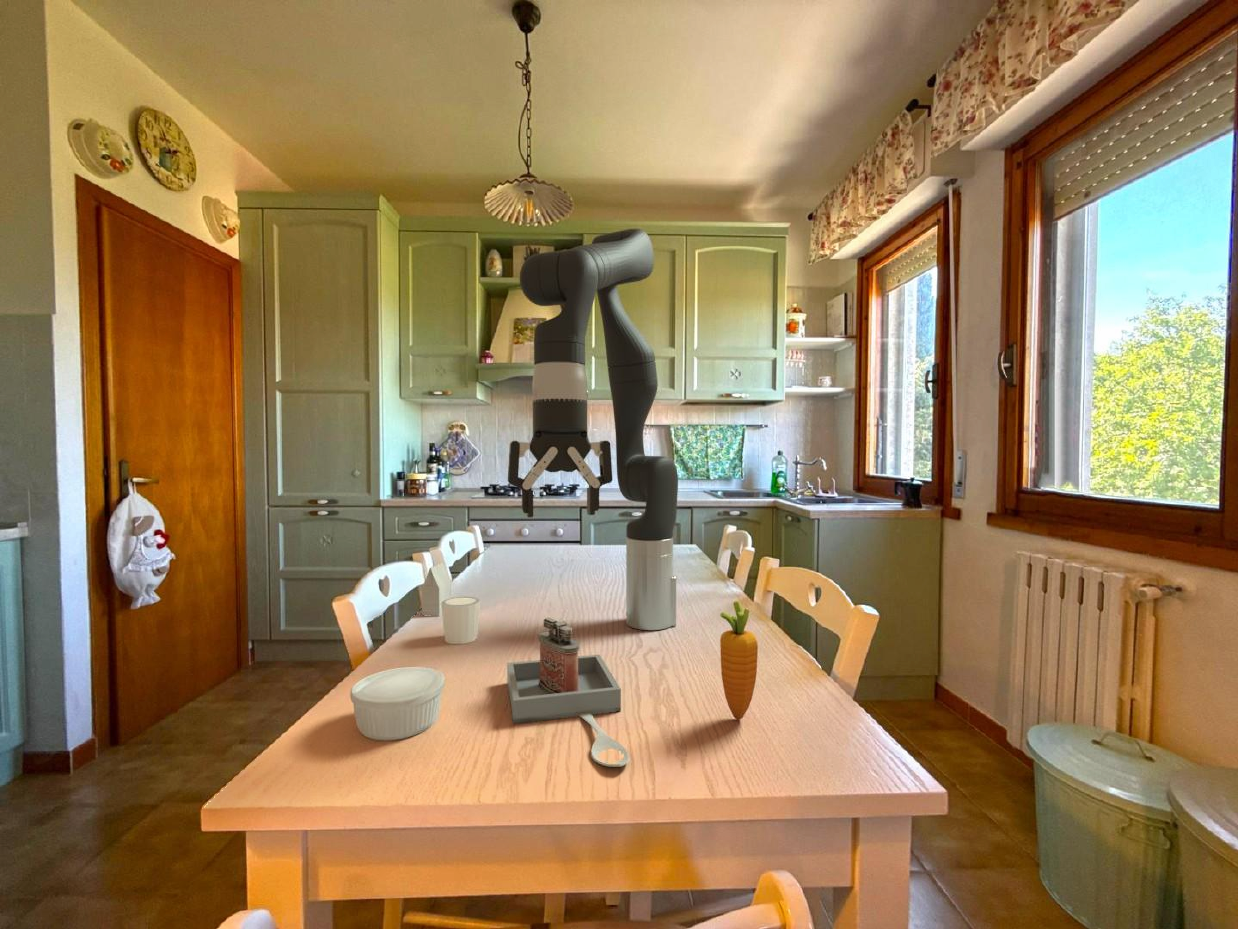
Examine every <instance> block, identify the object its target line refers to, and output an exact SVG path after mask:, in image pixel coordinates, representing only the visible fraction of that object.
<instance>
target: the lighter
mask: <svg viewBox="0 0 1238 929" xmlns="http://www.w3.org/2000/svg"><path fill="white" fill-rule="evenodd" d="M543 628H545V629H546V630H548V631H545V632H541V633H539V634H538V641H539V660H540V679H539V688H540V689H541V690H542V691H543V692H544V693H546V694H555V693H564V692H574V691H578V656H579V652H580V643H578V642H577V641H576V640H575V639H573V638H572V637H573V628H572V627H570V626H568V623H567V621H564V620H562V621H558V620H557V619H554V618H552V617H549V616H548V617H545V618H544V619H543Z"/></svg>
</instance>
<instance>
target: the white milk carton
mask: <svg viewBox="0 0 1238 929" xmlns="http://www.w3.org/2000/svg"><path fill="white" fill-rule="evenodd" d="M446 568H447V567H446V566H445V562H444V561H441V562H438V563H437V564H435V565H434V566H431V567H429V568H428V573H427V575H426V578H425V580H424V582H423V585H422V587H421V616H422V615H431V616H430V617H441V616H442V615H441V614H442V606H441V603H442V601H444V600H446V599H450V598H453V596H452V595H453V593H452V592H453V591H452V590H453V589H452V588H453V587H452V586H453V584H452V581H453V580H452V579H451V577H450V575H449V572H448V571H447V569H446ZM440 615H441V616H440Z"/></svg>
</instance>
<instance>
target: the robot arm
mask: <svg viewBox="0 0 1238 929" xmlns="http://www.w3.org/2000/svg"><path fill="white" fill-rule="evenodd" d="M654 265H655V253H654V248H653V243H652V241H651V238H650V237H649V235H648V234H647V232H646V231H644V229H641V228H628V229H627V228H626V229H624V230H619V231H614V232H609V233H605V234H601V235H598V236H595V237H594V238H593V239H592V242H591V243H589V244H587V243H586V244H582V245H577V246H574V247H572V248H570V249H564V250H562V249H561V250H555V251H547V252H539V253H535V254H531V255H530V256H528V258H526V260H524V262H523V264H522V266H521V268H520V273H519V285H520V289H521V290H522V293H523V294H524V296H525V297H526V299H527V300H529V302H531V303H532V304H534V305H535V306H538V307H539V306H540V307H550V306H562V305H563V306H562V309H561V311H560V312H559V313H558V314H557V315H556V316H554V317H552V318H550V319H547V320H544V321H542V322H540V323H538V324H537V325H536V327H535V328H534V333H533V375H532V387H531V388H532V392H531V393H532V438H531V441H530V442H525V441H518V440H512V441H511V442H510V443H509V449H508V467H507V468H508V470H507V472H508V473H507V482H508V484H509V485H511V486H515V487H517V488H519V489H520V490H521V509H522V512H523V513H524V514H526V517H527V518H534V489H532V487H533V486H534V484H535V482H536V481H537V480H538V479H539V478H540V476H541V475H542V474H543V472H544V471H546V472H549V473H558V472H562V471H563V472H566V473H573V472H574V471H576V472H578V474H579V475H580V476H581V477H582V479H583V480H584V481H585V482H586V484H587V485H588V487H586V512H587V515H589V516H595V514H596V511H599V509H600V489H601V487H603V486H604V485H607V484H610V483H612V482H613V468H612V467H613V465H612V464H613V463H612V451H611V442H610V441H609V440H600V441H595V442H594V441H593V442H590V440H589V436H588V398H589V391H588V380H587V373H586V372H587V370H586V335H587V330H588V325H589V321H590V316H591V314H592V313H591V312H592V308H593V304H594V301H595V297H596V295H597V300H598V306H599V309H600V315H601V320H602V329H603V336H604V342H605V343H604V345H605V354H606V365H607V374H608V381H609V386H610V393H611V398H612V399H611V401H612V408H613V410H612V411H613V418H614V419H613V420H614V431H615V450H616V451H615V454H616V457H615V458H616V478H617V483H618V484H617V485H618V488H619V490H620V494H622V496H623V497H624V499H626V500H627V501H630V502H636V503H637V502H638V503H645V510H644V514H643V515H642V516H640V517H639V518H636V519H633V520H631V521H629V522H628V523H627V525H626V528H625V529H626V534H625V535H626V537H625V539H626V540H625V541H626V542H625V544H626V547H625V549H626V550H625V551H626V554H625V555H626V562H625V564H626V568H625V570H626V573H625V575H626V576H625V578H626V579H625V583H626V585H625V586H626V588H625V589H626V590H625V591H626V592H625V594H626V596H625V597H626V598H625V599H626V600H625V601H626V602H625V604H626V606H625V607H626V608H625V618H626V619H625V623H626V625H627V626H628V627H630V628H633V629H637V630H641V631H658V630H660V631H661V630H664V629H668V628H671V627H675V626H677V577H676V576H675V575H674V529H675V525H676V523H677V522H676V521H677V508H678V495H679V493H678V492H679V475H678V469H677V466H676V464H675V463H674V461H673V459H671V458H669V457H667V456H662V455H646V454H645V448H644V429H645V424H646V421H647V419H648V416H649V413H650V411H651V409H652V407H653V403H654V401H655V399H656V396H657V393H658V386H659V385H658V375H657V365H656V357H655V353H654V350H653V348H652V346H651V344H650V343H649V341H648V340H647V339H646V337H645V336H644V335H643V333H642V332H641V331H640V330H639V329H638V328H637V326H636V325H635V324H634V322H633V321H632V320H631V318H630V317H629V315H628V314H627V312H626V310H625V308H624V306H623V304H622V301H621V298H620V294H619V290H618V286H619V285H624V284H631V283H637V282H641V281H643V280H646V279H647V278H649V277H650V276H651V274H652V272H653V270H654ZM528 450H529V451H530V453H531V455H532V456H533V457H534V459H536V461H535V463H534V464H533V465H532V466H531V468H530V469H529V471H528V473H527V474H526V475H525V477H524V478H521V477H519V470H520V458H523V457H524V456H525V455H526V452H527V451H528ZM591 450H592V452H594V453H593V454H594V456H596V457H598V462H599V463H598V464H599V475H598V476H596V475H595V474H594V472H593V471H592V469H591V467H590V466H589V465H588V464H587V462H586V461H585V459H586V458H587V456H588V454H590V452H591Z"/></svg>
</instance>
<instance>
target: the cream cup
mask: <svg viewBox="0 0 1238 929" xmlns="http://www.w3.org/2000/svg"><path fill="white" fill-rule="evenodd" d="M441 606H442V615H441V617H442V623H443V624H442V625H443V632H444V633H443V635H444V641H445V643H447V644H451V645H462V644H468V643H472V642H474V641H476V640H477V639H476V638H478V630H479V619H480V616H479V615H480V608H481V599H480V598H478V597H475V596H459V597H458V596H457V597H452V598H450V599H446V600H444V601H442V603H441ZM475 639H476V640H475Z"/></svg>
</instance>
